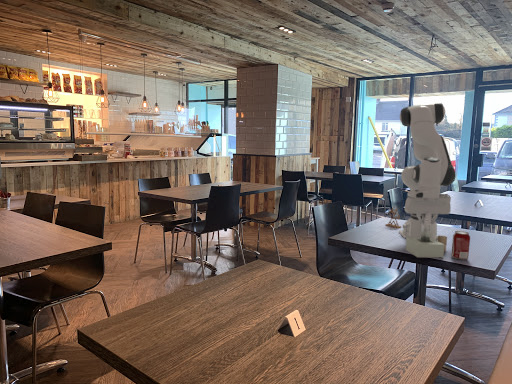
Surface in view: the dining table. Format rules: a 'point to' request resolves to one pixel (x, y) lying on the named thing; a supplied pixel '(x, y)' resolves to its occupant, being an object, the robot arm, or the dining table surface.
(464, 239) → the soda can
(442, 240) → the short wooden pin
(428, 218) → the white tall square block
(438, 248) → the hole block
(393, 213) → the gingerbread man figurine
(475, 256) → the dining table surface
